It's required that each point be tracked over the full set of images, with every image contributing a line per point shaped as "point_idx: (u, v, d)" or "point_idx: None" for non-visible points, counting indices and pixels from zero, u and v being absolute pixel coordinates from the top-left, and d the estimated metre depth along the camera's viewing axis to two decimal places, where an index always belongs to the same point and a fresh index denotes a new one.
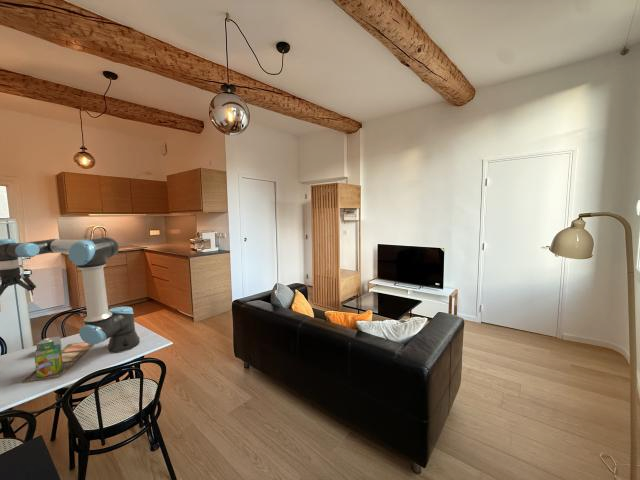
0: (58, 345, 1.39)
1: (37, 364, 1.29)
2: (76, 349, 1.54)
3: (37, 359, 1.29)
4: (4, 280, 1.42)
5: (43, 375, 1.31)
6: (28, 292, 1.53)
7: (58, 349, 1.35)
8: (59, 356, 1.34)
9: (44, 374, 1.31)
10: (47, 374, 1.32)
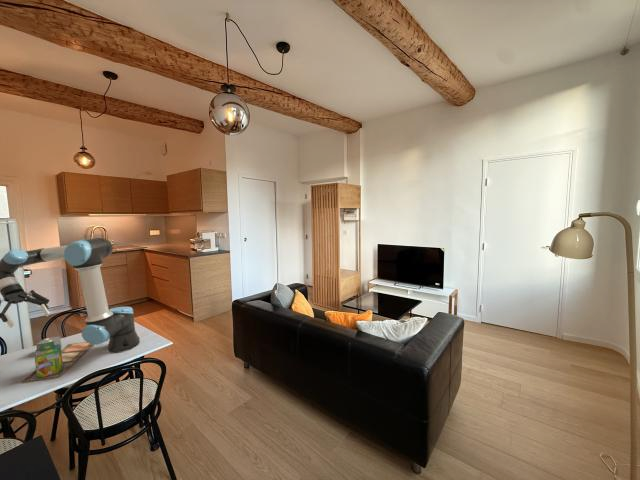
0: (58, 345, 1.39)
1: (37, 364, 1.29)
2: (76, 349, 1.54)
3: (37, 359, 1.29)
4: (6, 297, 1.35)
5: (43, 375, 1.31)
6: (42, 306, 1.43)
7: (58, 349, 1.35)
8: (59, 356, 1.34)
9: (44, 374, 1.31)
10: (47, 374, 1.32)
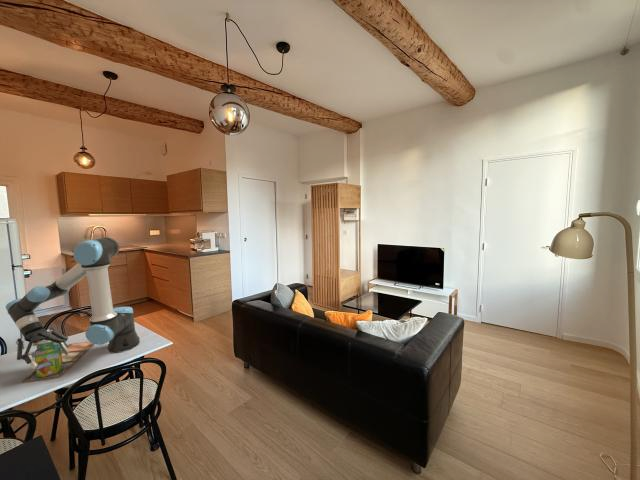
0: (58, 345, 1.39)
1: (37, 364, 1.29)
2: (76, 349, 1.54)
3: (37, 359, 1.29)
4: (27, 337, 1.33)
5: (43, 375, 1.31)
6: (61, 345, 1.40)
7: (58, 349, 1.35)
8: (59, 356, 1.34)
9: (44, 374, 1.31)
10: (47, 374, 1.32)
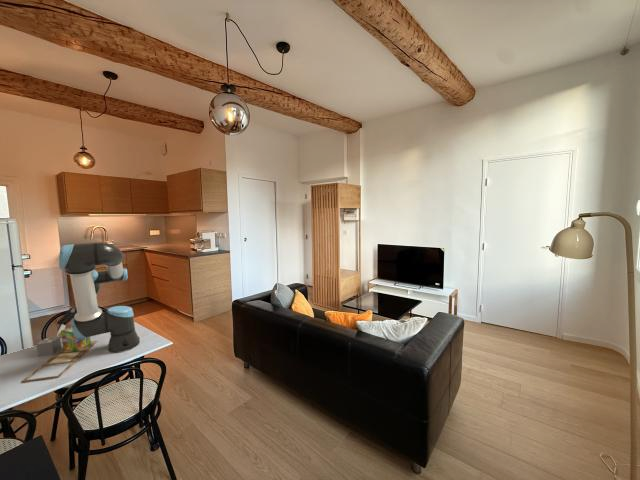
0: None
1: (62, 337, 1.53)
2: None
3: (62, 333, 1.52)
4: (75, 309, 1.61)
5: (65, 348, 1.53)
6: None
7: None
8: (72, 338, 1.51)
9: (65, 348, 1.53)
10: (66, 349, 1.53)
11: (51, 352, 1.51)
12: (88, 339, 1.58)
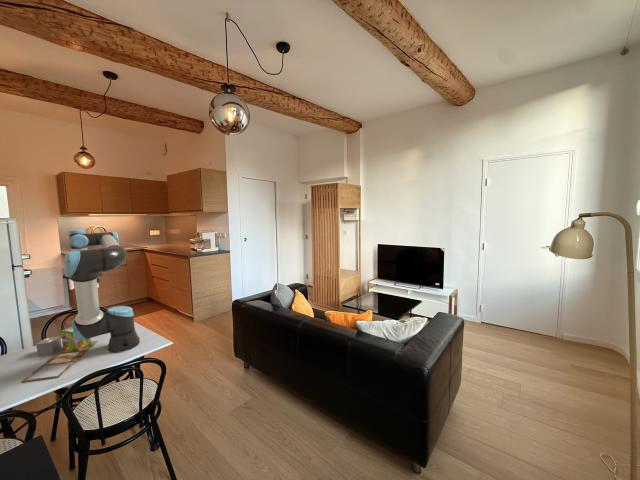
0: None
1: (62, 337, 1.53)
2: None
3: (62, 333, 1.52)
4: None
5: (65, 348, 1.53)
6: None
7: None
8: (72, 338, 1.51)
9: (65, 348, 1.53)
10: (67, 349, 1.53)
11: (51, 352, 1.51)
12: (88, 339, 1.58)
